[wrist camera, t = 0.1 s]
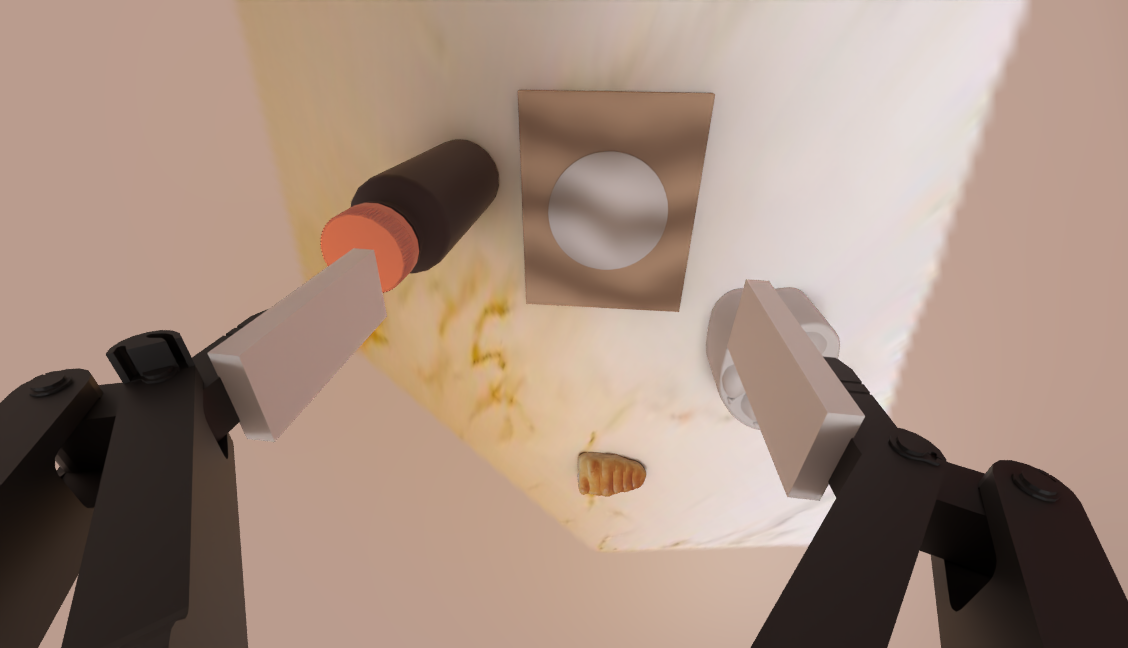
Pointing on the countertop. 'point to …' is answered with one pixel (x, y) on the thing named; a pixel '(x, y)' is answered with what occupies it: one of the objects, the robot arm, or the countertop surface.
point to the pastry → (608, 474)
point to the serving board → (610, 195)
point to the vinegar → (415, 210)
